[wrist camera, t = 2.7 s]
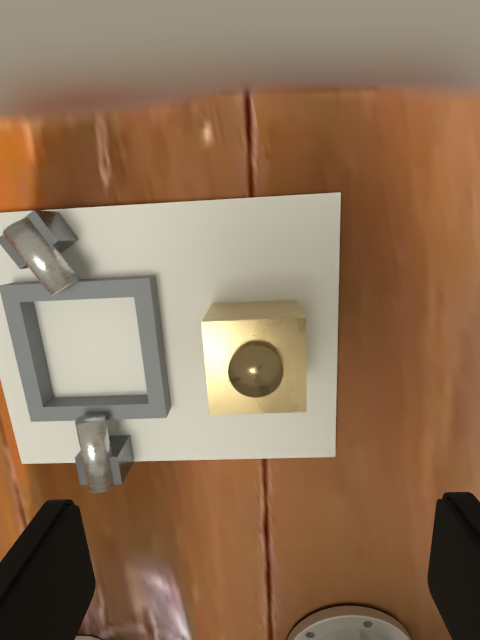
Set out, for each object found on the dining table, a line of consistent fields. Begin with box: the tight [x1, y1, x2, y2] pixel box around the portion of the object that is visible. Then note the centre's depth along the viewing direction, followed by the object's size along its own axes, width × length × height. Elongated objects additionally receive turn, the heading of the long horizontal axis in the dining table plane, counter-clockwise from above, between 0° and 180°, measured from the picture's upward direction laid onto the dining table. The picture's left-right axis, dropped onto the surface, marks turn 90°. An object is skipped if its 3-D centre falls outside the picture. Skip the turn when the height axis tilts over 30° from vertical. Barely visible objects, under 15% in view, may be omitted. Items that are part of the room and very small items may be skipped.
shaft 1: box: [0, 210, 80, 296], centre depth 22 cm, size 5×3×4 cm
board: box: [0, 192, 341, 464], centre depth 25 cm, size 26×20×2 cm
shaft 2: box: [75, 412, 134, 493], centre depth 26 cm, size 6×3×4 cm, turn 3°
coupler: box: [201, 300, 307, 415], centre depth 22 cm, size 6×6×6 cm
